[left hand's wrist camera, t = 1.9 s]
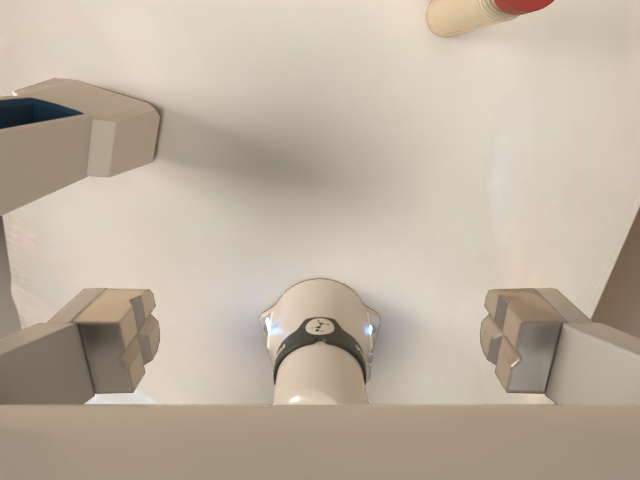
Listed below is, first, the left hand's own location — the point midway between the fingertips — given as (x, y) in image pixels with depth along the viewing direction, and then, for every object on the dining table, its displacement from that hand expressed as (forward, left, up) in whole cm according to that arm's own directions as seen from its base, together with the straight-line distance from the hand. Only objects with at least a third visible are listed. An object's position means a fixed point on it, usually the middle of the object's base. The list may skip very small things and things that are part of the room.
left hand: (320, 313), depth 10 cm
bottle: (+12, -15, -48) cm, 52 cm away
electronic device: (0, +27, -48) cm, 55 cm away
